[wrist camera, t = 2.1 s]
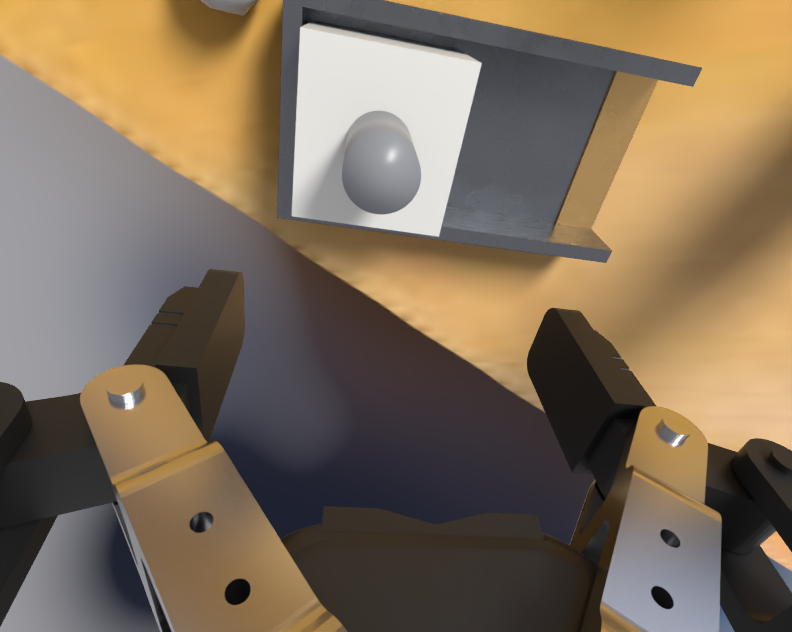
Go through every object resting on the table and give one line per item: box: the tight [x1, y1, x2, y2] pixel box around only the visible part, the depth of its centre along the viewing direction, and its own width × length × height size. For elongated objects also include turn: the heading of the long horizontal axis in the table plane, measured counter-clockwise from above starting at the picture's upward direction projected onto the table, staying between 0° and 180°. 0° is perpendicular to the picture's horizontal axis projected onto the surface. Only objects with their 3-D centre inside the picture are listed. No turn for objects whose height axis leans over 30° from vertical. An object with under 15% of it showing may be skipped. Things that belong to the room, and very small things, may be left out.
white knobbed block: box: [292, 21, 482, 237], centre depth 26 cm, size 10×9×12 cm
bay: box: [277, 0, 702, 263], centre depth 30 cm, size 13×24×5 cm, turn 80°
